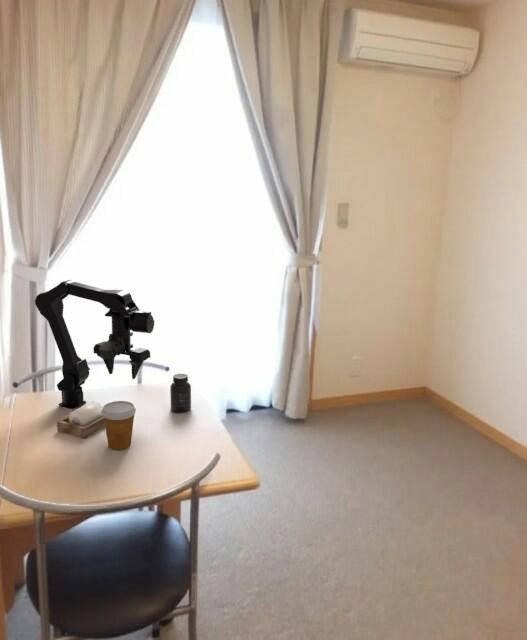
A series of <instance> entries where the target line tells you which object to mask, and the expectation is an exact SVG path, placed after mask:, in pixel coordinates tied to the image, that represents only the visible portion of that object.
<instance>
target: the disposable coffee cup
mask: <svg viewBox="0 0 527 640" xmlns="http://www.w3.org/2000/svg"><path fill="white" fill-rule="evenodd" d="M102 406H103V410H102V411H101V413H102V415H103V417H104V423H105V433H106V439H107V445H108V446H107V447H108V448H109V449H110V450H113V451H122V450H123V451H124V450H127V449H129V448H130V447H131V446H132V440H133V439H132V436H133V430H134V420H135V415H136V411H137V408H136V407H135V404H134V403H133V402H131V401H127V400H126V401H125V400H116V401H115V400H114V401H111V402H108V403H106V404H104V405H102Z"/></svg>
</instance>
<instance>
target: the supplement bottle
mask: <svg viewBox="0 0 527 640" xmlns="http://www.w3.org/2000/svg"><path fill="white" fill-rule="evenodd" d="M172 379H173V380H172V383H171V384H170V388H169V389H170V392H169V394H170V395H169V396H170V410H171V411H172V412H174V413H177V414H183V413H188V412H189V411H191V409H192V384H190V382H188V381H189V376H188V374H185V373H176V374H174V375H173V377H172Z"/></svg>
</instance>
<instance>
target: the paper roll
mask: <svg viewBox="0 0 527 640" xmlns="http://www.w3.org/2000/svg"><path fill="white" fill-rule="evenodd" d="M103 406H104V405H102V404H101V403H100V402H99V401H95V400H94V401H91V402H90V403H88V404H87V403H86V404H85V405H83V406H81V407H79V408H77V409H75V410H73V411H71V412H70V413H69V414H68V416H69V423H72V424H75V425H79V426H83V427H85V426H86V425H88V424H90V423H92V422H94V421H96V420H98V419H99V418H101V417H103V415H102V413H101V411H102V410H103Z"/></svg>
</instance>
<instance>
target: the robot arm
mask: <svg viewBox="0 0 527 640" xmlns="http://www.w3.org/2000/svg"><path fill="white" fill-rule="evenodd" d="M68 296H72V297H73V296H74V297H77V298H81V299H84V300H88V301H93V302H96V303H99V304H101V305H102V306H103V307H104V308H107V309H108V311H107V312H106V313H105V314H104V316H105V317H110V318H111V333H109V335H108V340H107V341H105V340H104V341H102V342H99V343H96V344H95V345H94V346H93V354H96V356H97V357H99V358H100V359H102V361H103V362H104V364H105V366H106V369H107V371H108V373H109V375H112V374H113V372H114V365H115V358H116V356H120V355H124V356H129V359H130V360H129V361H128V362H129V364H130V365H131V379H132V380H135V379H136V378H137V375H138V373H139V371H140V369H141V368H142V367H141V366H142V365H143V363H144V361H147V360H148V359H150V358H151V351H150V350H149V349H148V348H143V347H138V348H136V349H133V348H134V344H131V337H133V335H134V333H141V334H142V333H144V334H152V332H153V331H154V327H155V320H154V317H153V315H152V311H150V310H149V311H148V310H147V311H141V310H140V309H139V307H138V305H137V304H136V303H135V302H134V299H133V297H132V295H131V293H130V292H129V291H127V290H124V289H103V288H100V287H96V286H92V285H88V284H85V283H80V282H76V281H73V280H72V279H68V280H65V281H64V280H63V281H61V282H60V283H59V284H57V285H56V286H54V287H53V288H51V289H49V290H48V291H44V292H42V293H39V294H37V295H36V297H35V299H34V305H35V307H36V308H37V310H38V312H39V314H40V315H41V316H43V317H44V319H46V321H47V322H48V325H49V327H50V330H51V333H52V335H53V339H54V341H55V344H56V346H57V349H58V351H59V355H60V357H61V360H62V367H61V372H62V377H63V378H62V379H61V380H60V381H59V382H58V383H56V387H57V389H58V391H59V392H61V402H60V403H58V406H60V407H65V408H68V409H71V410H74V409H76V408H78V407H80V406H82V405H83V406H84V404H85V405H86V404H87V401H86V400H84V391H83V385H84V384H85V383H86V381H87V379H88V378H89V376H90V370H91V368H90V367H89V366H88V361H87V359H86V358H84V359H82V358H80V357H79V356H78V353H77V351H76V348H75V346H74V343H73V340H72V337H71V333H70V332H69V329H68V326H67V323H66V321H65V318H64V315H63V314H64V307H65V306H64V301H63V300H65V299H66V298H67V297H68Z"/></svg>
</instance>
